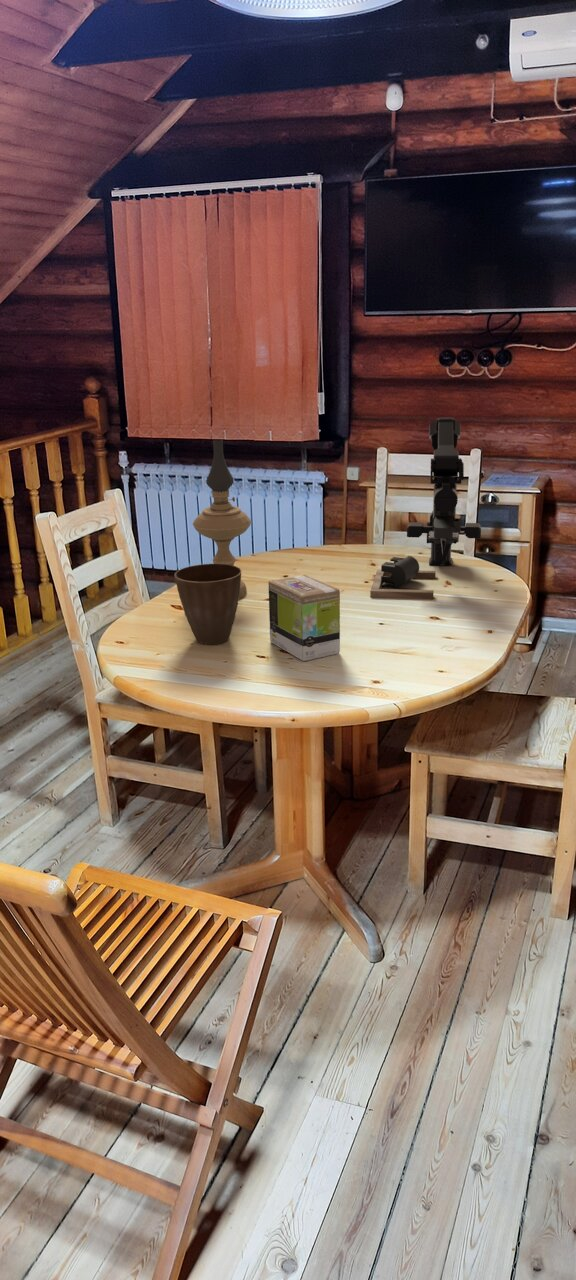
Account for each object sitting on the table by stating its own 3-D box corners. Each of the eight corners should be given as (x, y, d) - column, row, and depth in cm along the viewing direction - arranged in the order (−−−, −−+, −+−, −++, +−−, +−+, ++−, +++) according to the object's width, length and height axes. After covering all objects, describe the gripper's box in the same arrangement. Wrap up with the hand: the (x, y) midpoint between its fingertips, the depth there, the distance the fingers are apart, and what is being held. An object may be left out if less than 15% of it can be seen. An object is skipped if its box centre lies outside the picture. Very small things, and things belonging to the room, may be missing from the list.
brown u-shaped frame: (377, 575, 260) (377, 569, 260) (435, 576, 258) (435, 570, 257) (370, 597, 242) (370, 591, 241) (433, 598, 239) (433, 592, 239)
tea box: (341, 653, 205) (341, 588, 200) (302, 663, 200) (300, 596, 195) (306, 634, 217) (305, 572, 212) (268, 642, 213) (266, 579, 208)
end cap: (405, 590, 246) (405, 566, 244) (380, 587, 250) (380, 563, 247) (419, 580, 255) (419, 556, 252) (395, 577, 258) (395, 553, 256)
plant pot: (172, 650, 210) (166, 581, 204) (187, 627, 223) (183, 562, 218) (237, 651, 208) (234, 582, 202) (249, 629, 221) (246, 563, 216)
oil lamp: (264, 595, 245) (259, 440, 231) (214, 606, 238) (205, 447, 224) (236, 582, 257) (229, 434, 244) (187, 592, 250) (177, 440, 236)
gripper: (406, 509, 234) (405, 570, 240) (482, 510, 231) (479, 571, 236) (408, 500, 245) (407, 558, 250) (481, 501, 241) (479, 560, 247)
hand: (442, 562), depth 246 cm, fingers closed
